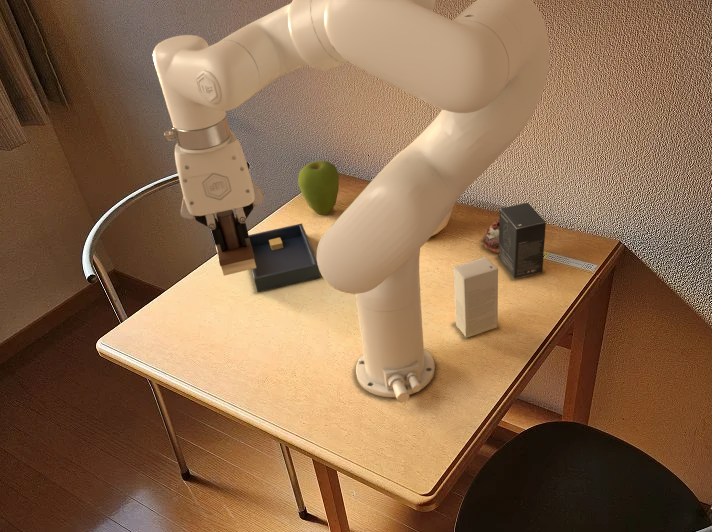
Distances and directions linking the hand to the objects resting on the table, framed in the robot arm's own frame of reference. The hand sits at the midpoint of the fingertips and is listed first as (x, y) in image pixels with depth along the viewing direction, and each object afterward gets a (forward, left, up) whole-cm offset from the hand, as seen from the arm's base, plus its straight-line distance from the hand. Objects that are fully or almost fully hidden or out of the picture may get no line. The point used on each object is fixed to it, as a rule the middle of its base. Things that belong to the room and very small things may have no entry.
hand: (233, 243), depth 116 cm
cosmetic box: (-11, -36, -19) cm, 42 cm away
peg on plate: (0, 0, -3) cm, 3 cm away
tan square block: (+27, -8, -18) cm, 34 cm away
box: (+3, -50, -19) cm, 54 cm away
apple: (+38, -20, -19) cm, 47 cm away
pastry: (+11, -50, -19) cm, 55 cm away
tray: (+22, -8, -19) cm, 30 cm away
